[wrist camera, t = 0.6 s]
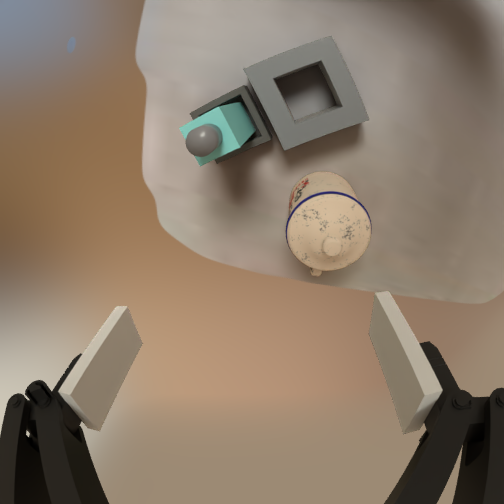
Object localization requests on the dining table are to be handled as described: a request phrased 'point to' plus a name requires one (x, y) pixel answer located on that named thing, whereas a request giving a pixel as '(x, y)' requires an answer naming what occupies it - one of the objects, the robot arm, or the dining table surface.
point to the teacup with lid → (326, 223)
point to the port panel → (320, 122)
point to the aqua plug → (217, 132)
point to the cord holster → (254, 112)
